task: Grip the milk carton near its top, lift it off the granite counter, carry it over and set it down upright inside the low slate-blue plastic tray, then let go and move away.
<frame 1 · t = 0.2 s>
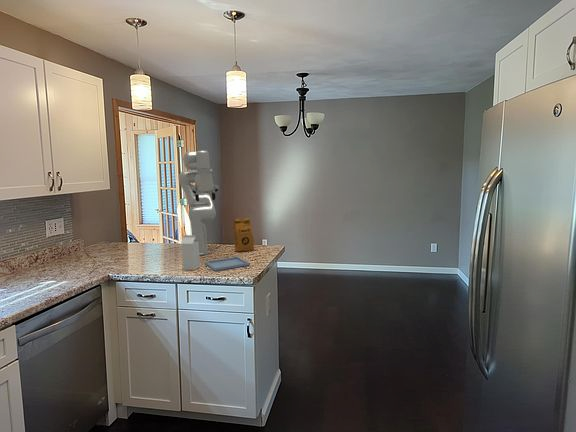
hand: (205, 200, 233), 37 cm above the countertop, tool pointing down, fingers open, 9 cm apart
coffee package: (244, 251, 262), on the countertop
tray: (227, 265, 224), on the countertop
milk carton: (191, 268, 219), on the countertop
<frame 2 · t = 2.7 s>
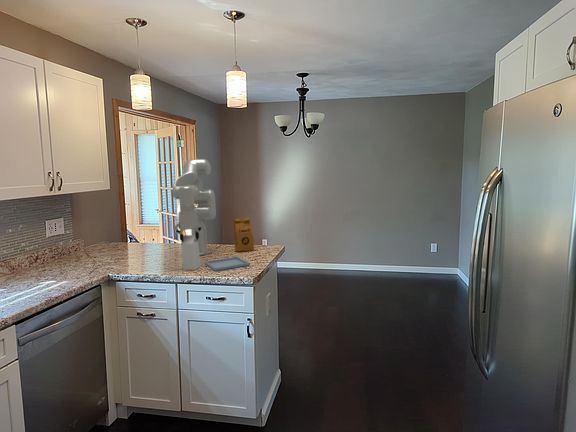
hand: (189, 240, 217), 16 cm above the countertop, tool pointing down, fingers open, 7 cm apart
milk carton: (191, 268, 219), on the countertop, touching gripper
everything else where it was.
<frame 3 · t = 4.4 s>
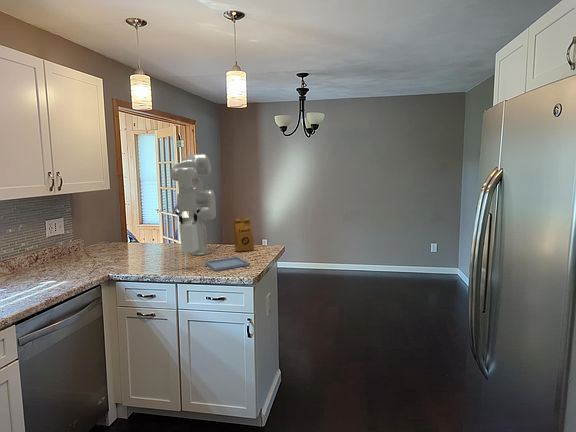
hand: (188, 222, 217), 26 cm above the countertop, tool pointing down, fingers closed on milk carton, 7 cm apart
milk carton: (190, 251, 220), point 10 cm above the countertop, touching gripper
everything else where it was.
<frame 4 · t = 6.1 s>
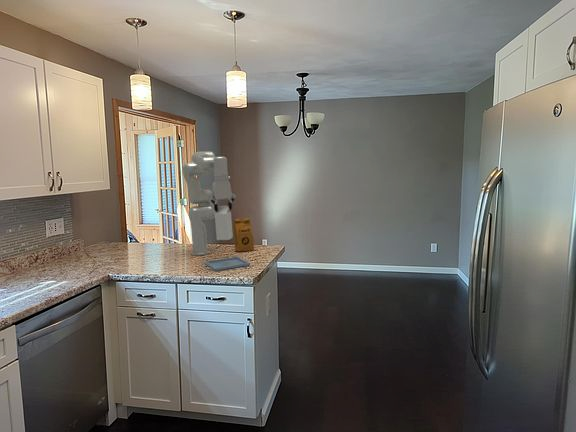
hand: (223, 210, 220), 32 cm above the countertop, tool pointing down, fingers closed on milk carton, 7 cm apart
milk carton: (225, 239, 222), point 15 cm above the countertop, touching gripper
everything else where it was.
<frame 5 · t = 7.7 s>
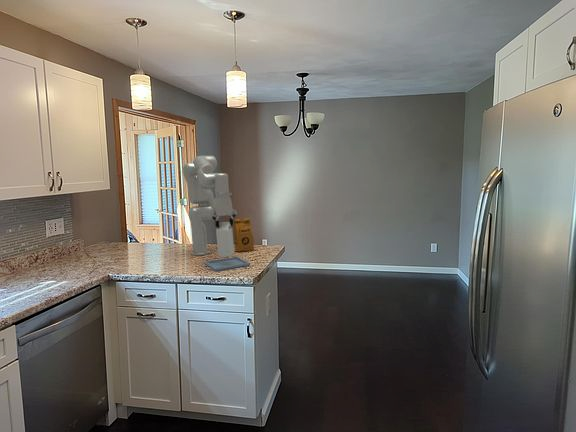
hand: (224, 226, 221), 22 cm above the countertop, tool pointing down, fingers closed on milk carton, 7 cm apart
milk carton: (226, 255, 223), point 6 cm above the countertop, touching gripper
everything else where it was.
when the fingers open (18 cm above the countertop, at t = 9.1 s): milk carton drops 1 cm, resting on tray.
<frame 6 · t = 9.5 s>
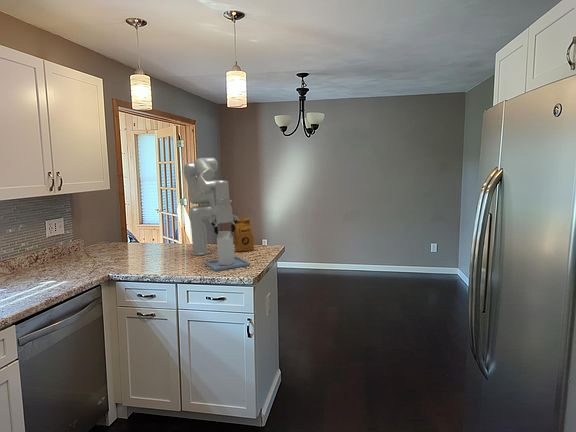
hand: (224, 232, 221), 19 cm above the countertop, tool pointing down, fingers open, 9 cm apart
milk carton: (226, 264, 224), resting on tray
everything else where it was.
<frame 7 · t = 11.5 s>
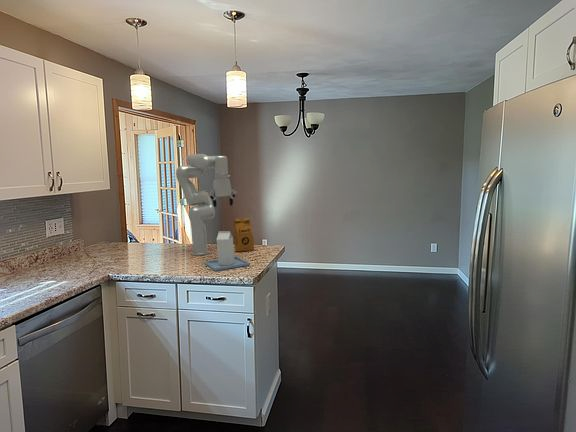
hand: (223, 206, 232), 33 cm above the countertop, tool pointing down, fingers open, 9 cm apart
nothing on the countertop moved.
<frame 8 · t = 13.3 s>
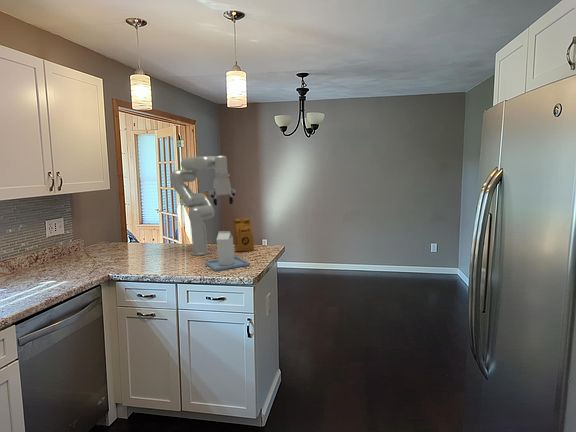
hand: (223, 204, 238), 33 cm above the countertop, tool pointing down, fingers open, 9 cm apart
nothing on the countertop moved.
at the end: milk carton inside the target area on the tray (0.4 cm from its centre), point 0.4 cm above the tray's base; milk carton tilted 0°; the gripper is holding nothing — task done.
